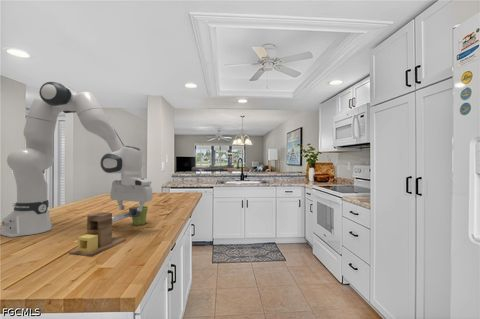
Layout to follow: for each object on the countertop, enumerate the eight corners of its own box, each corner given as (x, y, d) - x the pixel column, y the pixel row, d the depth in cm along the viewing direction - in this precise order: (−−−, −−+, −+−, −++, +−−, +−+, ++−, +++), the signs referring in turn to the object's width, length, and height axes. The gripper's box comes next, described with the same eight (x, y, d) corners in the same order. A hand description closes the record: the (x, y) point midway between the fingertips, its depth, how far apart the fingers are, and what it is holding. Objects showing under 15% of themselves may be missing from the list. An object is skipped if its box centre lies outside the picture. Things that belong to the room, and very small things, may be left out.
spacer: (89, 252, 90) (89, 238, 90) (77, 251, 91) (77, 237, 91) (97, 248, 94) (98, 235, 94) (86, 247, 95) (86, 234, 95)
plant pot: (141, 226, 127) (142, 209, 127) (125, 225, 129) (125, 208, 129) (151, 222, 136) (152, 206, 136) (136, 221, 138) (136, 205, 138)
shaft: (103, 229, 97) (103, 219, 97) (94, 228, 98) (94, 218, 98) (140, 215, 121) (140, 207, 121) (133, 215, 121) (133, 207, 121)
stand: (68, 253, 91) (69, 218, 91) (105, 238, 108) (105, 209, 108) (92, 256, 88) (92, 220, 88) (126, 240, 106) (126, 210, 106)
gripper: (107, 180, 116) (106, 210, 116) (146, 182, 112) (145, 213, 112) (116, 179, 123) (116, 207, 123) (154, 181, 118) (153, 210, 118)
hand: (130, 210), depth 117 cm, fingers open, 8 cm apart
